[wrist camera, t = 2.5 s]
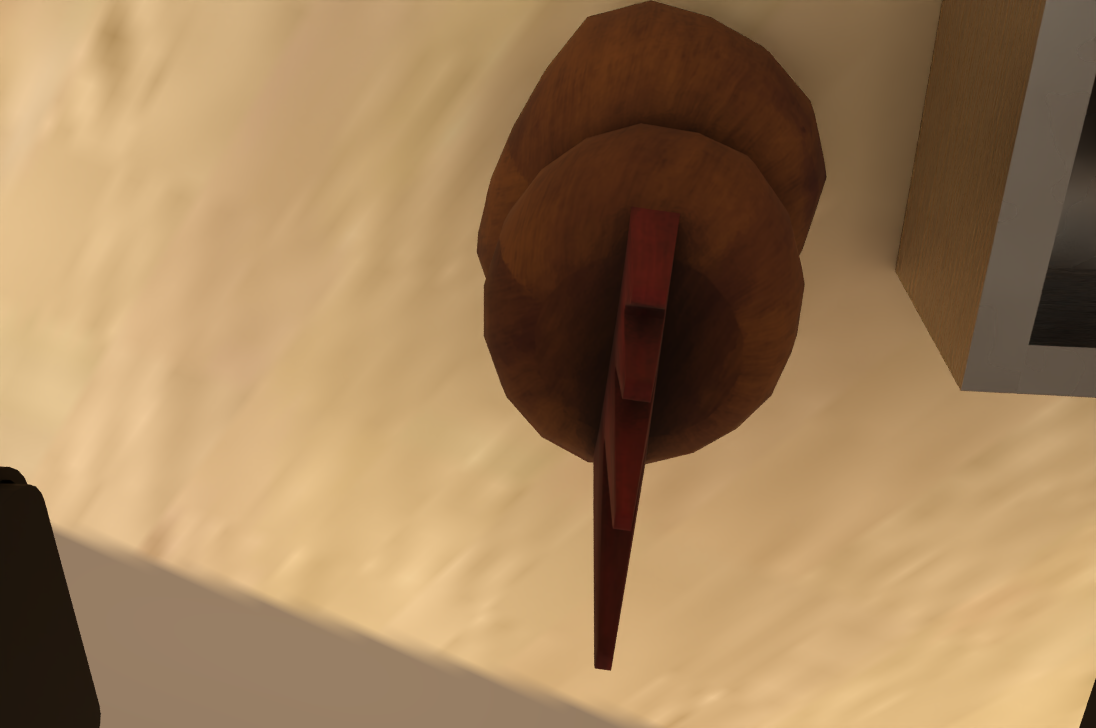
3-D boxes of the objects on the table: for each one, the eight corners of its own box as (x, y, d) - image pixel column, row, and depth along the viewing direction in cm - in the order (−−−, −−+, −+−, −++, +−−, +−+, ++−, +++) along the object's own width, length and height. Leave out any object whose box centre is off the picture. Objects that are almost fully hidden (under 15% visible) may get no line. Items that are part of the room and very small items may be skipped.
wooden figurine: (683, 311, 25) (703, 831, 12) (477, 204, 24) (247, 627, 11) (841, 67, 22) (1111, 392, 9) (610, -64, 21) (516, 71, 8)
